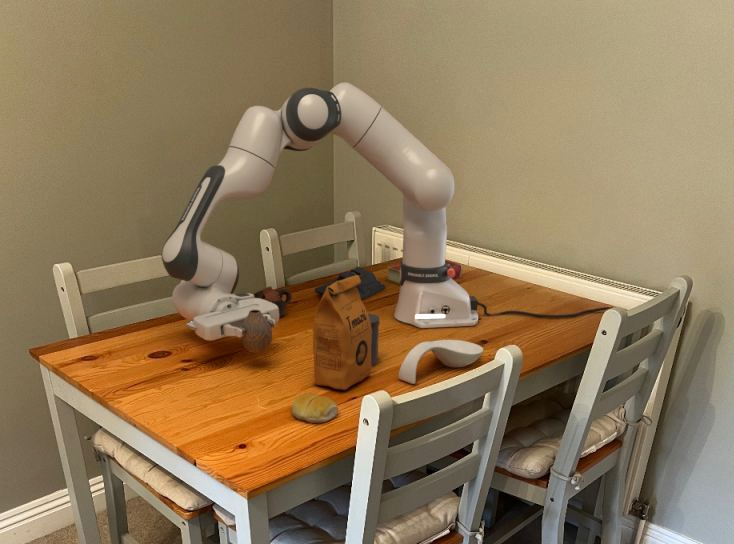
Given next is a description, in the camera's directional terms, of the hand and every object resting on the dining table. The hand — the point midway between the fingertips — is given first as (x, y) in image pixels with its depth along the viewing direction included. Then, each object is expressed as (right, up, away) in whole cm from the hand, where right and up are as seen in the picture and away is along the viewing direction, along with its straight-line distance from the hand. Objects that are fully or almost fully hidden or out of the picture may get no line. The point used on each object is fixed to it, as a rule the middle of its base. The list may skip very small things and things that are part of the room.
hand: (258, 329), depth 162 cm
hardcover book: (+41, +32, +69) cm, 86 cm away
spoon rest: (+40, -8, +6) cm, 42 cm away
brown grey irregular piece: (-2, +13, +37) cm, 40 cm away
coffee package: (+19, -12, 0) cm, 22 cm away
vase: (-1, -4, +3) cm, 5 cm away
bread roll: (+13, -21, -15) cm, 29 cm away
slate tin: (+23, -5, +10) cm, 25 cm away
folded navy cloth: (+18, +25, +56) cm, 64 cm away
